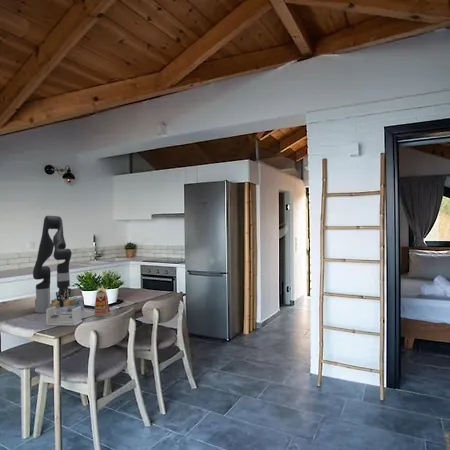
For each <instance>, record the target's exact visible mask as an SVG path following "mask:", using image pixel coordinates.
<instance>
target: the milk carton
mask: <svg viewBox="0 0 450 450" xmlns="http://www.w3.org/2000/svg"><path fill="white" fill-rule="evenodd" d="M110 313H111V310H110V305H109V298H108V293H107V289H106V288H105V287H104V285H101V287H100V288H98V289H97V291H96V295H95V303H94V314H93V315H94V316H98V317H99V316H101V317H102V316H108V315H109V314H110Z"/></svg>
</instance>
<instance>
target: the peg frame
mask: <svg viewBox="0 0 450 450" xmlns="http://www.w3.org/2000/svg"><path fill="white" fill-rule="evenodd" d="M45 313H46V319H45V320H46V324H45V326H77V325H79V324H81V323H82V322H83V320H82V311H81V306H79V307H77V308H75V309H72V315H60V314H57V305H53V306H52V307H51V306H50V308H49V309H46V312H45Z"/></svg>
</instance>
